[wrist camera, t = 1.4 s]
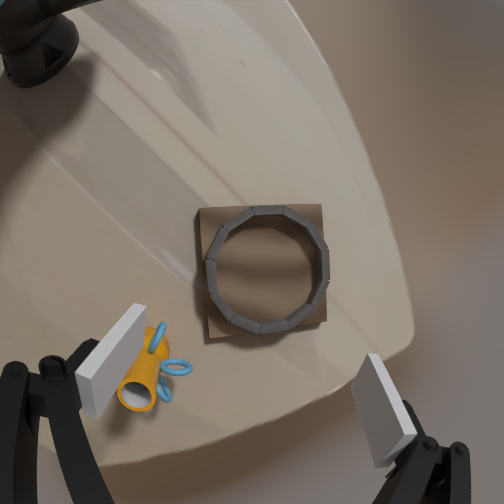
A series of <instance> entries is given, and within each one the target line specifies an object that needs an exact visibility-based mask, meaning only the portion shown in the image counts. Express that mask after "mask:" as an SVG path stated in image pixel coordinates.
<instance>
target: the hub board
mask: <svg viewBox="0 0 504 504" xmlns="http://www.w3.org/2000/svg"><path fill="white" fill-rule="evenodd" d="M199 223H200V239H201V253H202V267H203V279H204V291H205V302H206V312H207V322H208V332H209V337H210V338H217V337H226V336H234V335H242V334H250V333H256V334H260V335H261V334H268V333H274V332H281V331H287V330H290V328H291V329H293V328H294V327H296V326H302V325H308V324H314V323H319V322H325V321H327V309H326V289H327V287H328V284H329V282H330V281H328V280H330V263H329V249H327V248H328V246H327V245H326V243H325V241H324V235H323V220H322V207H321V204H288V205H256V206H232V207H212V208H199Z"/></svg>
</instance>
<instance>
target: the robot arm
mask: <svg viewBox="0 0 504 504" xmlns="http://www.w3.org/2000/svg"><path fill="white" fill-rule="evenodd" d="M98 1H102V0H0V54H1V55H2V59H3V64H4V68H5V72H6V75H7V77H8V79H9V80H10V81H11V82H12V83H13V84H14V85H16V86H18V87H23V88H26V87H32V86H35V85H38V84H40V83H42V82H44V81H46V80H48V79H49V78H51V77H52V76H53V75H55V74H56V73H57V72H58V71H60V70H61V69H62V68H63V67H64V66H65V65H66V64H67V62H68V61H69V60H70V59H71V57H72V56H73V54H74V53H75V51H76V49H77V46H78V42H79V34H78V31H77V28H76V26H75V24H74V23H73V22H72V21H71V20H69V19H68V18H66V17H65V16H64V15H63V14H62V13H63V12H66V11H69V10H72V9H75V8H78V7H81V6H84V5H88V4H91V3H95V2H98ZM146 308H147V306H144V305H140V304H137V303H134V304H133V305H132V306H131V307H130V308H129V309H128V311H127V312H126V313H125V314H124V315H123V316H122V317H121V318H120V320H119V321H118V322H117V323H116V324H115V325H114V326H113V328H112V329H111V330H110V331H109V332H108V333H107V335H106V336H105V337H104V338H103V339H102V340H101V342H100V341H97V340H95V339H92V338H91V339H89V340H87V341H84V342H83V343H82V344H81V345H80V346H79V347H78V349H76V350H75V352H74V353H73V354H72V355H71V356H70V357H69V358H68V359H67V360H66V361H65V360H64V359H63V358H62V357H59V356H55V355H50V356H46V357H44V358H42V359H41V360H40V362H39V366H38V367H39V371H40V374H41V375H40V374H36V373H31V372H29V371H28V368H27V366H26V365H25V364H24V363H22V362H19V361H12V362H9V363H8V364H6V365H5V367H4V368H3V371H2V374H1V378H0V504H38V502H37V445H38V431H39V420H40V416H42V417H47V418H49V423H50V428H51V432H52V436H53V441H54V445H55V448H56V452H57V456H58V459H59V462H60V466H61V469H62V472H63V475H64V478H65V481H66V484H67V487H68V490H69V492H70V495H71V498H72V501H73V503H74V504H115V503H114V501H113V499H112V497H111V495H110V493H109V491H108V489H107V487H106V484H105V482H104V480H103V478H102V475H101V473H100V471H99V468H98V466H97V463H96V461H95V458H94V456H93V453H92V450H91V448H90V445H89V442H88V439H87V437H86V434H85V431H84V428H83V424H82V421H81V418H80V415H79V410H80V409H81V407H82V410H83V414H84V415H86V416H88V417H90V418H92V419H95V420H97V421H98V420H99V418H100V416H101V415H102V413H103V411H104V410H105V408H106V406H107V404H108V403H109V401H110V399H111V398H112V396H113V395H114V393H115V391H116V390H117V388H118V386H119V385H120V383H121V381H122V380H123V378H124V376H125V375H126V373H127V372H128V370H129V368H130V367H131V365H132V364H133V362H134V360H135V359H136V357H137V356H138V354H139V352H140V351H141V349H142V348H143V346H144V341H145V323H146ZM351 390H352V394H353V396H354V400H355V402H356V406H357V409H358V412H359V415H360V418H361V422H362V424H363V428H364V431H365V434H366V438H367V441H368V444H369V448H370V451H371V455H372V458H373V461H374V465H375V468H384V467H388V466H389V465H390V464H391V463H392V462H393V461H395V464H396V466H395V467H394V468H393V469H392V470H391V471H390V473H388V474H387V476H386V478H387V477H388V476H389V477H388V478H387V480H386V482H385V484H384V485H383V487H382V489H381V490H380V492H379V493H378V495H377V497H376V498H375V500H374V501H373V503H372V504H471V470H470V455H469V449H468V448H467V446H466V445H465V444H463V443H461V442H454V443H453V444H452V445H451V446H450V447H449V448H447V447H442V446H439V444H438V443H437V441H436V440H435V439H434V438H432V437H429V436H426V435H425V433H424V431H423V429H422V427H421V424H420V423H419V420H418V419H417V416H416V414H414V411H413V408H412V407H411V405H410V404H409V403H408V402H407V401H406V400H401V398H400V396H399V394H398V392H397V390H396V388H395V386H394V384H393V382H392V380H391V378H390V376H389V374H388V372H387V370H386V368H385V367H384V365H383V363H382V361H381V359H380V357H379V355H377V354H369V353H368V354H367V356H366V358H365V360H364V362H363V364H362V366H361V368H360V370H359V372H358V373H357V375H356V377H355V379H354V381H353V383H352V385H351Z"/></svg>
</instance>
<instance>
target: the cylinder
mask: <svg viewBox="0 0 504 504" xmlns="http://www.w3.org/2000/svg"><path fill="white" fill-rule="evenodd" d="M165 329H166V323H165V322H161V323H160V325H159V326H158V328H157V330H156V329H153V328H145V341H144V346H143V348H142V349H141V351H140V352H139V354H138V356H137V357H136V359H135V360H134V362H133V364H132V365H131V367H130V368H129V370H128V372H127V373H126V375H125V376H124V378H123V380H122V381H121V383H120V385H119V386H118V388H117V396H118V398H119V400H120V402H121V403H122V404H123V405H124V406H125V407H127V408H128V409H130V410H133V411H146V410H148V409H150V408H151V407H152V406H153V405H154V403H155V401H156V393H157V394H158V396H159V397H160V398H161V399H162V400H163V401H165V402H170V401H171V400H172V395H171V392H170V390H169V388H168V386H167V384H166V382H165V381H164V379H163V378H162V377H161V376H160V375H159V373H161V372H164V373H166V374H169V375H174V376H183V375H187V374H189V373H191V371H192V369H193V367H192V365H191V364H190V363H189V362H187V361H185V360H181V359H169V343H168V341H167V339H166V337H165V336H164V335H163V334H164V332H165ZM172 364H176V365H182V366H184V367H186V368H185V369H181V370H175V369H170V368H167V367H166V366H167V365H172ZM158 382H159V383H160V385H161V386H162V388H163V390H164V392H165V394H164V393H163V391H162V390H161V388H160V386H159V384H158Z"/></svg>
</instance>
